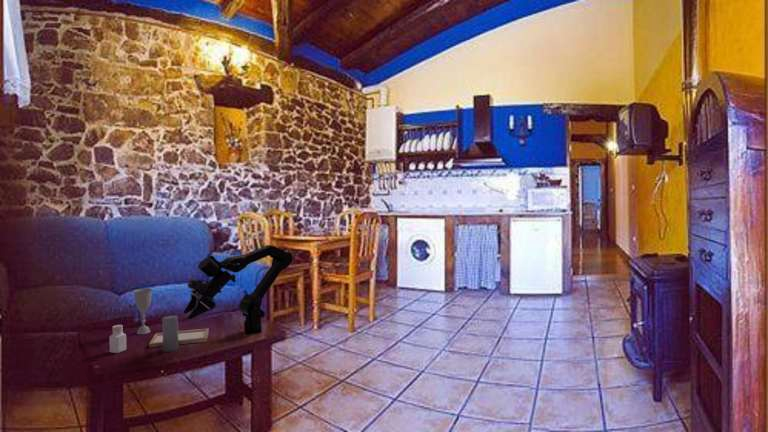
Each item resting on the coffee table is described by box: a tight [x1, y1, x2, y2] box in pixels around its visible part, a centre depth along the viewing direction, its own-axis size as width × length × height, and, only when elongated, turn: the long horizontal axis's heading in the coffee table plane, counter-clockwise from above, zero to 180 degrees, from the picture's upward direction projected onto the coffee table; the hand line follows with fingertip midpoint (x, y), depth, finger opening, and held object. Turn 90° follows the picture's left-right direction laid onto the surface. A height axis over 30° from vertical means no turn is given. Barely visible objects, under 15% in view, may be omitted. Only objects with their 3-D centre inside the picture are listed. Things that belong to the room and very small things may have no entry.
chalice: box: [132, 287, 153, 335], centre depth 172 cm, size 7×7×18 cm
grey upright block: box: [161, 315, 179, 353], centre depth 153 cm, size 5×5×12 cm
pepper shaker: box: [108, 324, 127, 354], centre depth 151 cm, size 4×4×10 cm
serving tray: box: [148, 327, 210, 348], centre depth 164 cm, size 20×13×2 cm, turn 110°
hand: (186, 315), depth 156 cm, fingers open, 9 cm apart
